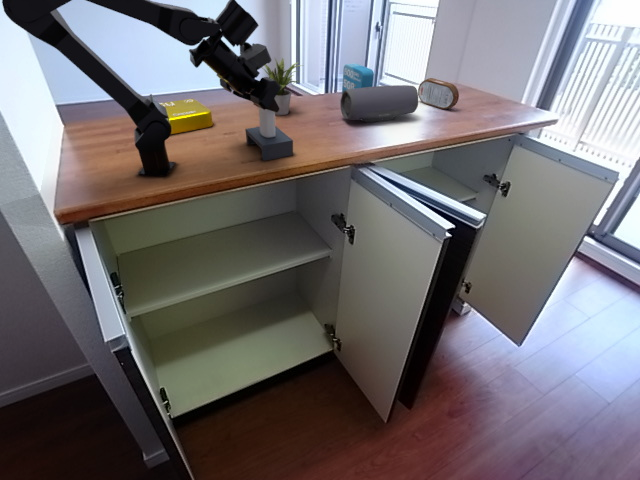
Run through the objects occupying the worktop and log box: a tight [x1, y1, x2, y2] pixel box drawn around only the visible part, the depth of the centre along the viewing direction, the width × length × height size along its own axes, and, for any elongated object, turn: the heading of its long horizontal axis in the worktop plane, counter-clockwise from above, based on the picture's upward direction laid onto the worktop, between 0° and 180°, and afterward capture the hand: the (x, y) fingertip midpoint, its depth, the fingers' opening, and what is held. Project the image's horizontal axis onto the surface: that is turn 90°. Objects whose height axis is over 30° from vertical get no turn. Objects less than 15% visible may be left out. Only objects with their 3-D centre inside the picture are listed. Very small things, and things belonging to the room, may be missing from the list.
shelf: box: [245, 125, 294, 162], centre depth 96 cm, size 8×12×4 cm, turn 29°
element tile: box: [158, 98, 214, 136], centre depth 108 cm, size 15×15×5 cm
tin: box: [417, 77, 460, 110], centre depth 128 cm, size 15×3×8 cm, turn 42°
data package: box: [341, 62, 375, 95], centre depth 126 cm, size 12×4×12 cm, turn 28°
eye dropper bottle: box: [258, 107, 276, 138], centre depth 91 cm, size 4×6×12 cm
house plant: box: [261, 57, 304, 116], centre depth 114 cm, size 14×14×16 cm
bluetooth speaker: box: [339, 84, 419, 123], centre depth 115 cm, size 23×9×10 cm, turn 110°
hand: (271, 107), depth 91 cm, fingers closed on eye dropper bottle, 5 cm apart
